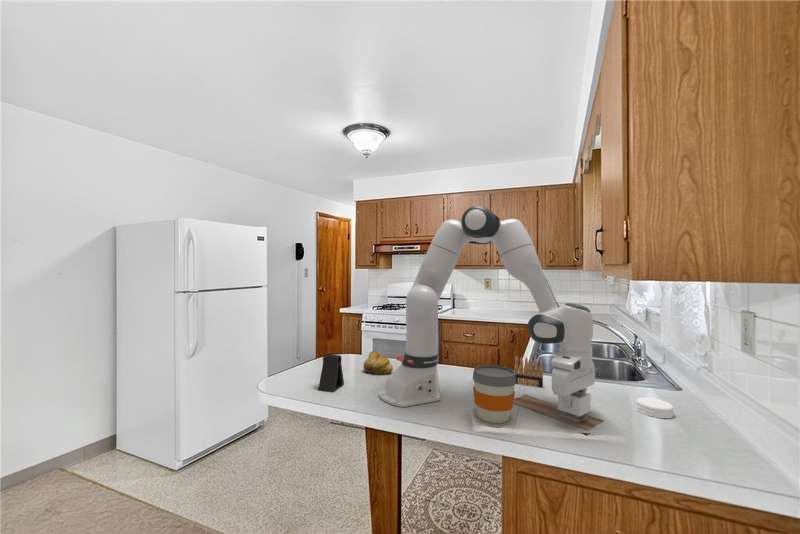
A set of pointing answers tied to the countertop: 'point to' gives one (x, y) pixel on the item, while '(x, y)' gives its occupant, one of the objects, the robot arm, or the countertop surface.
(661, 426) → the countertop surface
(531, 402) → the brown flat wooden board
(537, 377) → the ammunition clip
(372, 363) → the bread roll
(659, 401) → the coaster
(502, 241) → the robot arm
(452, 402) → the countertop surface
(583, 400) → the white block
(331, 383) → the black tent stand
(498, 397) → the reusable coffee cup
